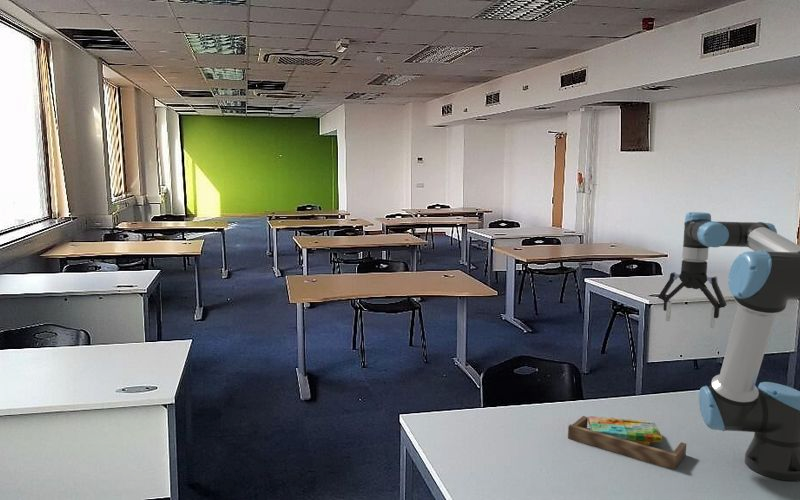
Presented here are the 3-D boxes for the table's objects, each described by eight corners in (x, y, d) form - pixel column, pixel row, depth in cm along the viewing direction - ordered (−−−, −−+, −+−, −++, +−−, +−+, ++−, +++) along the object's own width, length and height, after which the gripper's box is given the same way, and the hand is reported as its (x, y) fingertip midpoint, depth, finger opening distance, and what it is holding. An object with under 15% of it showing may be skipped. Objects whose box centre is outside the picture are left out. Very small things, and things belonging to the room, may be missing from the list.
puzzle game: (588, 414, 199) (654, 419, 196) (587, 428, 200) (653, 433, 196) (592, 429, 188) (663, 435, 184) (591, 443, 189) (661, 450, 185)
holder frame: (685, 455, 181) (686, 442, 181) (674, 469, 173) (675, 455, 172) (582, 426, 200) (583, 414, 200) (567, 438, 192) (568, 425, 191)
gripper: (740, 262, 198) (734, 328, 201) (658, 255, 213) (653, 315, 216) (735, 265, 192) (729, 332, 195) (651, 257, 208) (647, 319, 210)
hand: (689, 324), depth 206 cm, fingers open, 13 cm apart
